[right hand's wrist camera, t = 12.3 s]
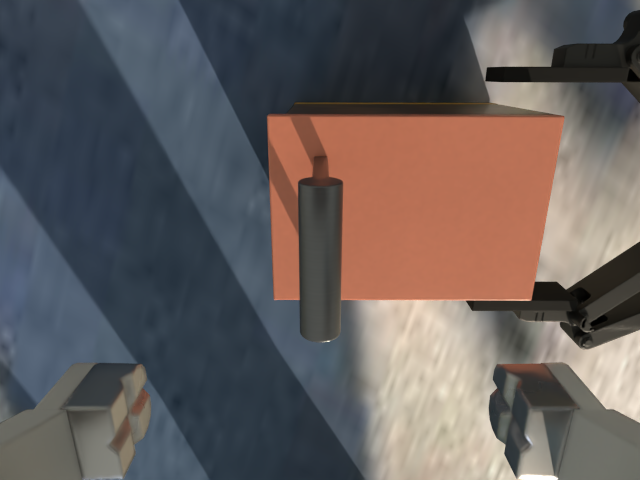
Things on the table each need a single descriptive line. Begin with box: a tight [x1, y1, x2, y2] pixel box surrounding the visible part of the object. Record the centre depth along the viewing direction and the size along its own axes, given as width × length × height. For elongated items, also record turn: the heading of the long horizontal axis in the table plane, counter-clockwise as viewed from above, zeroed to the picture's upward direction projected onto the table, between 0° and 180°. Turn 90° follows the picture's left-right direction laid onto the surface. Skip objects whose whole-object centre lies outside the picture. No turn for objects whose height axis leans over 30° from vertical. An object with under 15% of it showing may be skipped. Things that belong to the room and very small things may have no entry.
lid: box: [267, 114, 564, 342], centre depth 21 cm, size 14×10×8 cm
